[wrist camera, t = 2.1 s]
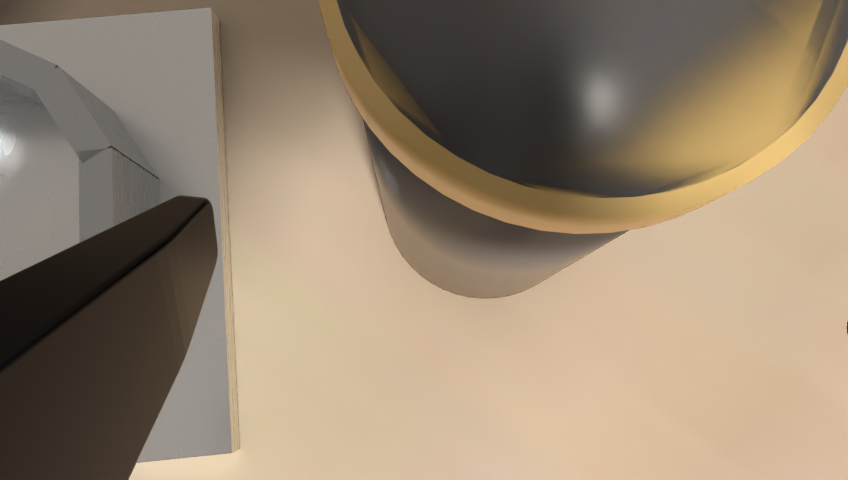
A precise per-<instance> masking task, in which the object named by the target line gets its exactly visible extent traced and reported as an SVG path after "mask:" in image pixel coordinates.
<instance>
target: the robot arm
mask: <svg viewBox="0 0 848 480" xmlns="http://www.w3.org/2000/svg"><path fill="white" fill-rule="evenodd" d="M217 257H218V245H217V237H216V229H215V221H214V213H213V207H212V204H211V202H210V201H209V200H208V199H207V198H204V197H195V196H185V195H178V196H176V197H174V198H171V199H169V200H167V201H165V202H163V203H161V204H159V205H157V206H155V207H153V208H151V209H149V210H146V211H144V212H142V213H140V214H138V215H136V216H134V217H132V218H130V219H128V220H126V221H124V222H122V223H119V224H117V225H115V226H113V227H111V228H109V229H107V230H105V231H103V232H101V233H99V234H97V235H94V236H92V237H90V238H88V239H86V240H84V241H82V242H80V243H78V244H76V245H74V246H72V247H69V248H67V249H65V250H63V251H61V252H59V253H57V254H55V255H53V256H51V257H49V258H47V259H44V260H42V261H40V262H38V263H36V264H34V265H32V266H30V267H28V268H26V269H24V270H22V271H19V272H17V273H15V274H13V275H11V276H9V277H7V278H5V279H3V280H1V281H0V480H128V479H129V477H130V475H131V473H132V471H133V469H134V467H135V464H136V462H137V460H138V458H139V456H140V454H141V452H142V450H143V447H144V445H145V443H146V441H147V439H148V437H149V435H150V432H151V430H152V428H153V426H154V424H155V422H156V420H157V418H158V415H159V413H160V411H161V409H162V407H163V405H164V403H165V401H166V398H167V396H168V394H169V392H170V390H171V388H172V386H173V384H174V381H175V379H176V377H177V375H178V373H179V371H180V368H181V366H182V364H183V362H184V359H185V357H186V354H187V352H188V349H189V346H190V343H191V340H192V337H193V334H194V331H195V328H196V325H197V322H198V319H199V316H200V313H201V309H202V306H203V303H204V300H205V297H206V294H207V291H208V288H209V285H210V282H211V279H212V276H213V273H214V269H215V266H216V263H217ZM847 333H848V322H847Z"/></svg>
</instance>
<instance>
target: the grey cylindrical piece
mask: <svg viewBox="0 0 848 480" xmlns="http://www.w3.org/2000/svg"><path fill="white" fill-rule="evenodd" d="M318 3H319V6H320V10H321V13H322V17H323V21H324V24H325V28H326V31H327V35H328V38H329V42H330V45H331V49H332V52H333V55H334V59H335V62H336V65H337V69H338V71H339V74H340V76H341V78H342V80H343V82H344V85H345V87H346V89H347V91H348V93H349V95H350V98H351V100H352V101H353V103H354V104H355V106H356V108H357V109H358V111H359V112H360V114H361V115H362V117H363V120H364V124H365V129H366V133H367V138H368V142H369V146H370V151H371V155H372V160H373V164H374V168H375V173H376V177H377V181H378V186H379V190H380V195H381V199H382V203H383V208H384V212H385V217H386V221H387V224H388V228H389V231H390V234H391V236H392V238H393V241H394V243H395V245H396V247H397V248H398V250H399V251H400V253H401V255H402V256H403V257H404V259H405V260H406V261H407V262H408V263H409V265H410V266H411V267H412V268H413V269H414V270H415V271H416V272H417V273H419V274H420V275H421V276H422V277H424V278H425V279H426V280H428V281H429V282H431V283H432V284H434V285H436V286H438V287H440V288H441V289H443V290H446V291H449V292H451V293H454V294H457V295H462V296H466V297H472V298H499V297H505V296H510V295H513V294H516V293H520V292H522V291H525V290H527V289H529V288H531V287H533V286H535V285H537V284H538V283H540V282H542V281H544V280H545V279H547V278H549V277H550V276H552V275H554V274H555V273H557V272H559V271H561V270H562V269H564V268H566V267H567V266H569V265H571V264H573V263H574V262H576V261H578V260H579V259H581V258H583V257H584V256H586V255H588V254H590V253H591V252H593V251H595V250H596V249H598V248H600V247H601V246H603V245H605V244H607V243H608V242H610V241H612V240H613V239H615V238H617V237H619V236H620V235H622V234H624V233H625V232H627V231H629V230H632V229H638V228H644V227H648V226H651V225H654V224H657V223H661V222H664V221H667V220H671V219H674V218H677V217H679V216H682V215H684V214H686V213H688V212H690V211H692V210H695V209H697V208H699V207H701V206H703V205H706V204H708V203H710V202H712V201H714V200H715V199H717V198H719V197H721V196H723V195H725V194H727V193H729V192H731V191H733V190H735V189H737V188H739V187H740V186H742V185H744V184H746V183H748V182H750V181H751V180H753V179H754V178H756V177H758V176H759V175H761V174H762V173H764V172H765V171H767V170H769V169H770V168H772V167H773V166H775V165H776V164H778V163H780V162H781V161H782V160H783V159H784V158H785V157H787V156H788V155H789V154H790V153H791V152H792V151H794V150H795V149H796V148H797V147H798V146H799V145H801V144H802V143H803V142H804V141H805V140H806V139H808V137H809V136H810V135H811V134H812V133H813V132H814V131H815V129H816V128H817V127H818V126H819V125H820V124H821V122H822V121H823V120H824V119H825V118H826V117H827V116H828V114H829V113H830V112H831V111H832V109H833V108H834V106H835V104H836V103H837V101H838V100H839V98H840V97H841V95H842V93H843V92H844V90H845V89H846V87H847V86H848V0H318Z"/></svg>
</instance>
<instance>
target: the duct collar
mask: <svg viewBox="0 0 848 480" xmlns="http://www.w3.org/2000/svg"><path fill="white" fill-rule="evenodd" d="M178 195H185V196H195V197H204V198H207V199H208V200H209V201H210V202H211V204H212V207H213V213H214V221H215V229H216V237H217V245H218V257H217V263H216V266H215V269H214V273H213V276H212V279H211V282H210V285H209V288H208V291H207V294H206V297H205V300H204V303H203V306H202V309H201V313H200V316H199V319H198V322H197V325H196V328H195V331H194V334H193V337H192V340H191V343H190V346H189V349H188V352H187V354H186V357H185V359H184V362H183V364H182V366H181V368H180V371H179V373H178V375H177V377H176V379H175V381H174V384H173V386H172V388H171V390H170V392H169V394H168V396H167V398H166V401H165V403H164V405H163V407H162V409H161V411H160V413H159V415H158V418H157V420H156V422H155V424H154V426H153V428H152V430H151V432H150V435H149V437H148V439H147V441H146V443H145V445H144V447H143V450H142V452H141V454H140V456H139V458H138V460H137V462H136V463H140V462H150V461H159V460H169V459H179V458H188V457H198V456H208V455H217V454H227V453H233V452H235V451H237V450H238V449H240V443H239V422H238V402H237V381H236V361H235V340H234V320H233V299H232V279H231V258H230V238H229V217H228V197H227V176H226V156H225V135H224V115H223V94H222V74H221V53H220V32H219V20H218V18H217V17H216V15H215V13H214V11H213V10H212V8H211V7H209V8H198V9H186V10H174V11H162V12H150V13H139V14H127V15H115V16H103V17H91V18H80V19H68V20H56V21H44V22H32V23H21V24H9V25H0V281H1V280H3V279H5V278H7V277H9V276H11V275H13V274H15V273H17V272H19V271H22V270H24V269H26V268H28V267H30V266H32V265H34V264H36V263H38V262H40V261H42V260H44V259H47V258H49V257H51V256H53V255H55V254H57V253H59V252H61V251H63V250H65V249H67V248H69V247H72V246H74V245H76V244H78V243H80V242H82V241H84V240H86V239H88V238H90V237H92V236H94V235H97V234H99V233H101V232H103V231H105V230H107V229H109V228H111V227H113V226H115V225H117V224H119V223H122V222H124V221H126V220H128V219H130V218H132V217H134V216H136V215H138V214H140V213H142V212H144V211H146V210H149V209H151V208H153V207H155V206H157V205H159V204H161V203H163V202H165V201H167V200H169V199H171V198H174V197H176V196H178Z"/></svg>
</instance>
